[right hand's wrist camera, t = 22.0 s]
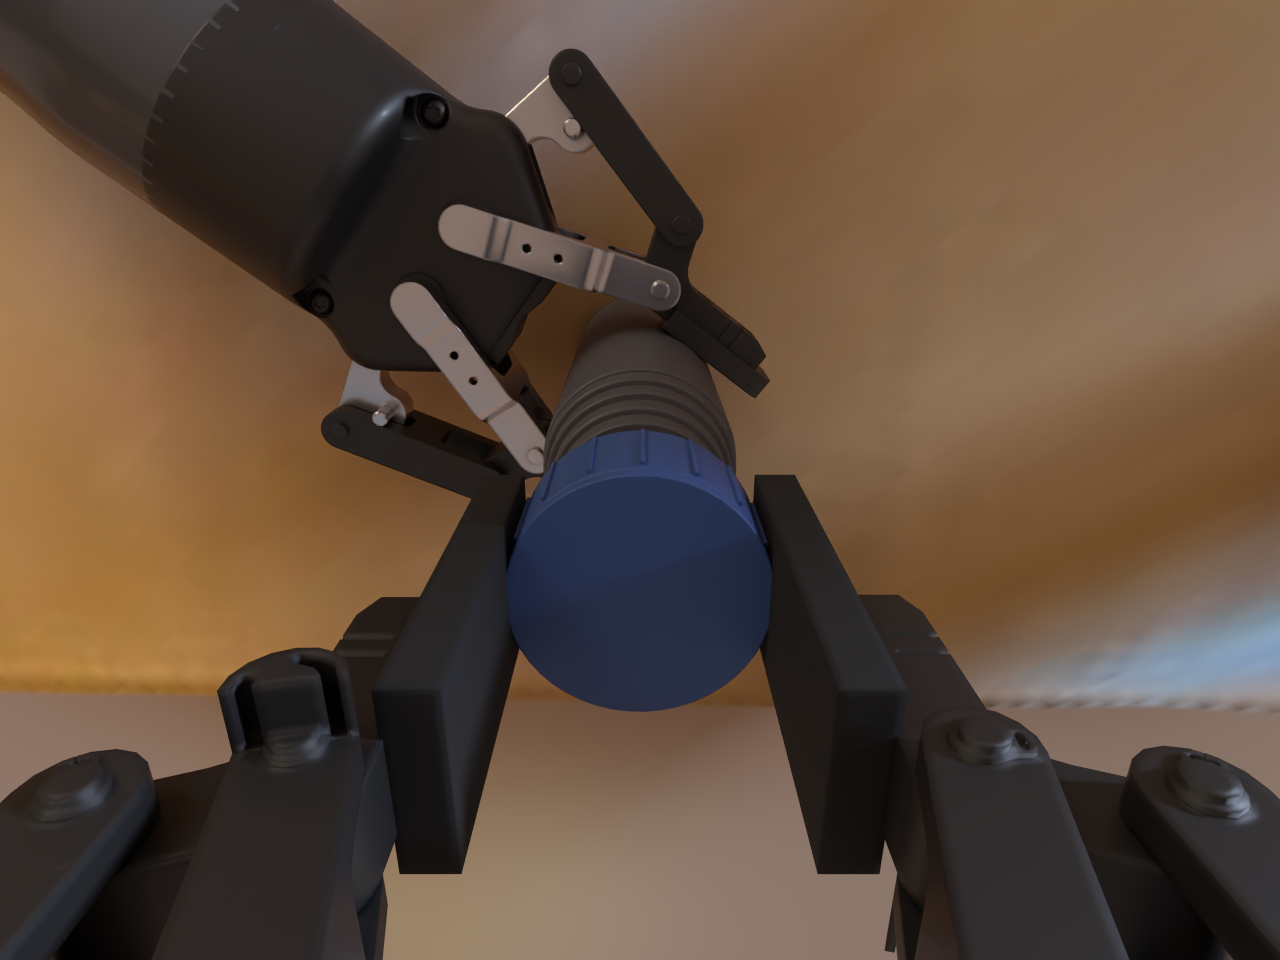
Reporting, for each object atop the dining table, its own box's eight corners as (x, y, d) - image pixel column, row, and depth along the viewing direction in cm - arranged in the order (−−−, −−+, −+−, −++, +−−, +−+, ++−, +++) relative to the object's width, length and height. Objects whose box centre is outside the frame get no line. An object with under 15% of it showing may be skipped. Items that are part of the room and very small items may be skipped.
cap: (474, 506, 14) (446, 563, 12) (679, 382, 14) (686, 419, 11) (606, 675, 16) (600, 752, 14) (798, 572, 15) (824, 637, 13)
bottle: (569, 305, 30) (473, 474, 13) (688, 283, 30) (757, 425, 12) (593, 420, 32) (537, 705, 14) (707, 400, 31) (789, 667, 14)
